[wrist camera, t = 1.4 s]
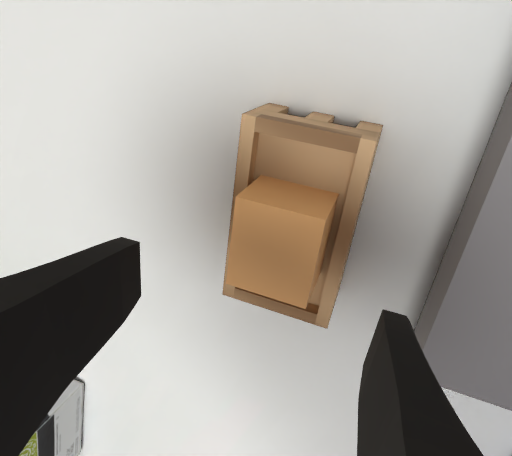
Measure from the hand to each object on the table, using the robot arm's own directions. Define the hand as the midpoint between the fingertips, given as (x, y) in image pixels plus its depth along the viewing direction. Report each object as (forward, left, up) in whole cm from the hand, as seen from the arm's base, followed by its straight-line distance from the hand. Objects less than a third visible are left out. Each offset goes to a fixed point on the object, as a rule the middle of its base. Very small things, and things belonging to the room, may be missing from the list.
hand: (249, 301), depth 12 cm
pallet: (-1, +1, -10) cm, 10 cm away
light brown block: (-1, +1, -7) cm, 7 cm away
